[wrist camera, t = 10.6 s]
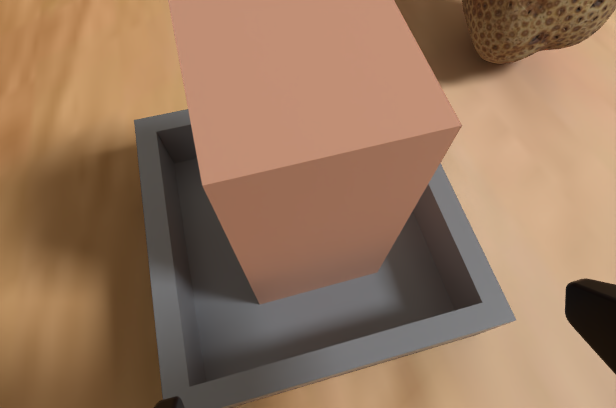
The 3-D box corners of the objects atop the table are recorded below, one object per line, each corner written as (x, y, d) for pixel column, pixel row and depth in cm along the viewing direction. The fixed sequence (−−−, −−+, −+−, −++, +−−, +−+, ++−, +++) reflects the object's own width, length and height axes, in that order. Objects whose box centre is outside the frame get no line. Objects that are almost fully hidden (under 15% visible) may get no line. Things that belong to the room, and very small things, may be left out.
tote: (381, 113, 26) (393, 67, 22) (477, 334, 20) (516, 320, 16) (159, 161, 24) (134, 120, 20) (193, 419, 18) (165, 424, 14)
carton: (377, 272, 20) (461, 125, 9) (259, 304, 19) (202, 186, 8) (341, 172, 23) (374, -36, 12) (235, 197, 22) (168, -1, 11)
